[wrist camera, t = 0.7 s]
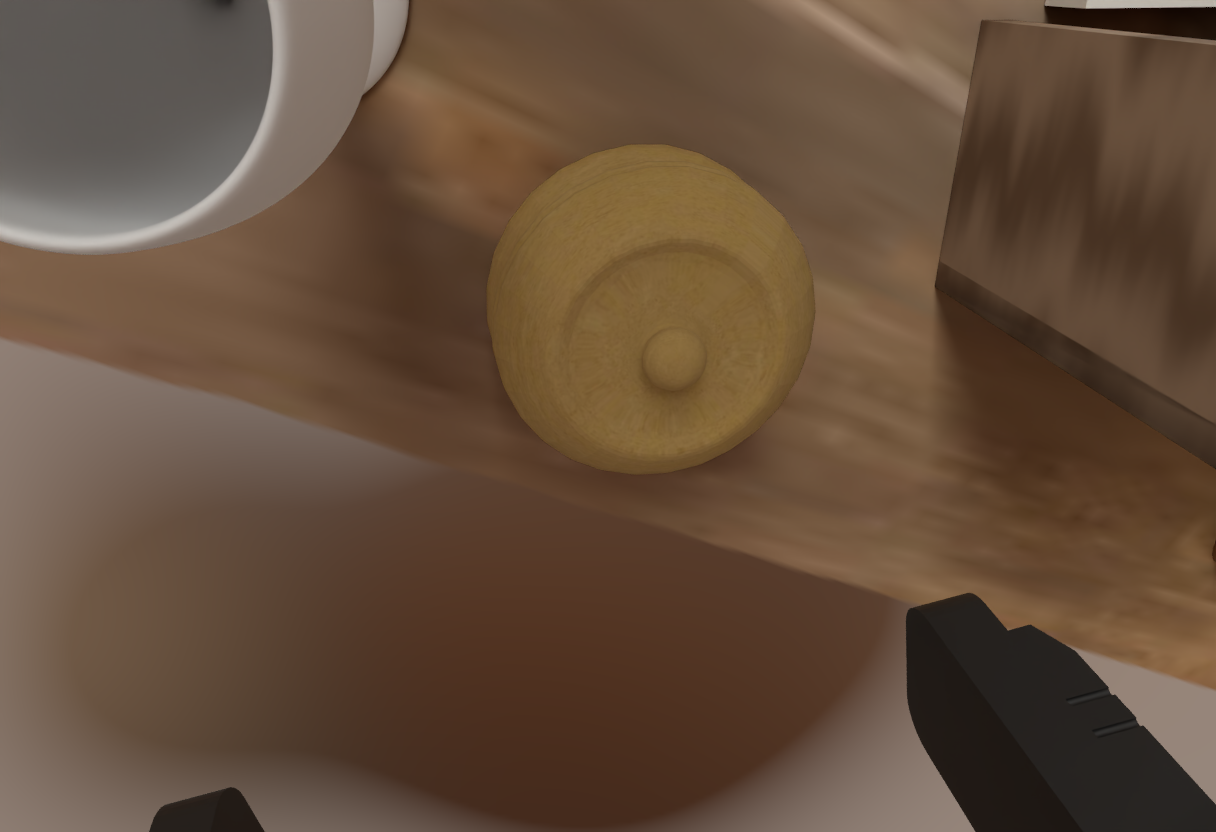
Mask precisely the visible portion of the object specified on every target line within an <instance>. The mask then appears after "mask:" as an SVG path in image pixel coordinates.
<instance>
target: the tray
mask: <svg viewBox="0 0 1216 832" xmlns="http://www.w3.org/2000/svg"><path fill="white" fill-rule="evenodd" d="M1045 6H1057V7H1071V8H1163V7H1216V0H1046V1H1045Z"/></svg>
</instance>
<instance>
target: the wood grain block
mask: <svg viewBox="0 0 1216 832" xmlns="http://www.w3.org/2000/svg"><path fill="white" fill-rule="evenodd" d="M935 287H937V288H938V289H940V290H941V291H943V292H944V293H946V294H947V295H949V296H950V297H952V298H953V299H955V300H957V301H958V302H960V303H961V304H963V305H964V306H966V307H967V308H969V309H970V310H972V311H973V312H975V313H977V314H978V315H980V316H981V317H983V318H984V319H986V320H987V321H989V322H990V323H992V324H993V325H995V326H997V327H998V328H1000V329H1001V330H1003V331H1004V332H1006V333H1007V334H1009V335H1010V336H1012V337H1013V338H1015V339H1016V340H1018V341H1020V342H1021V343H1023V344H1024V345H1026V346H1027V347H1029V348H1030V349H1032V350H1033V351H1035V352H1036V353H1038V354H1040V355H1041V356H1043V357H1044V358H1046V359H1047V360H1049V361H1050V362H1052V363H1053V364H1055V365H1056V366H1058V367H1060V368H1061V369H1063V370H1064V371H1066V372H1067V373H1069V374H1070V375H1072V376H1073V377H1075V378H1076V379H1078V380H1080V381H1081V382H1083V383H1084V384H1086V385H1087V386H1089V387H1090V388H1092V389H1093V390H1095V391H1096V392H1098V393H1100V394H1101V395H1103V396H1104V397H1106V398H1107V399H1109V400H1110V401H1112V402H1113V403H1115V404H1116V405H1118V406H1120V407H1121V408H1123V409H1124V410H1126V411H1127V412H1129V413H1130V414H1132V415H1133V416H1135V417H1136V418H1138V419H1140V420H1141V421H1143V422H1144V423H1146V424H1147V425H1149V426H1150V427H1152V428H1153V429H1155V430H1156V431H1158V432H1160V433H1161V434H1163V435H1164V436H1166V437H1167V438H1169V439H1170V440H1172V441H1173V442H1175V443H1176V444H1178V445H1180V446H1181V447H1183V448H1184V449H1186V450H1187V451H1189V452H1190V453H1192V454H1193V455H1195V456H1196V457H1198V458H1200V459H1201V460H1203V461H1204V462H1206V463H1207V464H1209V465H1210V466H1212V467H1213V468H1215V469H1216V41H1215V40H1205V39H1195V38H1185V37H1175V36H1165V35H1155V34H1146V33H1136V32H1126V31H1116V30H1106V29H1096V28H1086V27H1076V26H1066V25H1056V24H1046V23H1036V22H1026V21H1016V20H982V22H981V28H980V34H979V39H978V45H977V51H976V56H975V62H974V68H973V73H972V79H971V85H970V90H969V96H968V102H967V107H966V113H965V119H964V124H963V130H962V136H961V141H960V147H959V153H958V158H957V164H956V170H955V175H954V181H953V187H952V192H951V198H950V204H949V209H948V215H947V221H946V226H945V232H944V238H943V243H942V249H941V255H940V260H939V266H938V272H937V277H936V283H935Z"/></svg>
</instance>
